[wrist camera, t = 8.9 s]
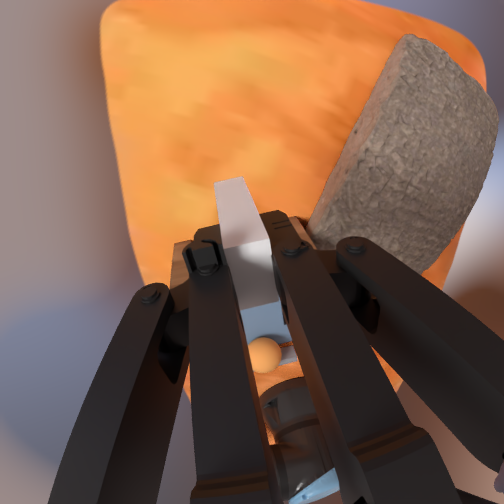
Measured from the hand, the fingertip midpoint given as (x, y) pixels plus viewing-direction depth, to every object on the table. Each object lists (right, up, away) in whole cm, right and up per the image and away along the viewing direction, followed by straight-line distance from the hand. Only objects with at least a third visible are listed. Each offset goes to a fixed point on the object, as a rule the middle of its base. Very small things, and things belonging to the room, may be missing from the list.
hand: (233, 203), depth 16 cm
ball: (+3, -18, +28) cm, 33 cm away
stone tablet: (+20, +9, +19) cm, 29 cm away
